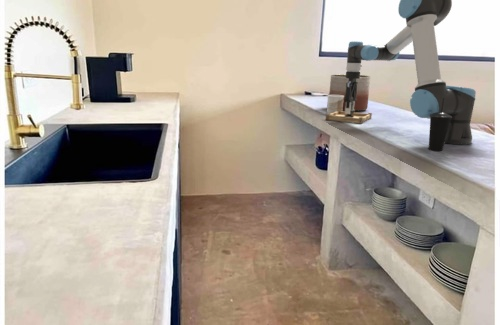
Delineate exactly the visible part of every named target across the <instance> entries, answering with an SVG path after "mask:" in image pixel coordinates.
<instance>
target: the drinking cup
mask: <svg viewBox="0 0 500 325" xmlns="http://www.w3.org/2000/svg"><path fill="white" fill-rule="evenodd" d="M444 100H445V99H444V98H443V100H442V106H441V112H436V113H433V114H430V119H429V133H428V134H429V136H428V137H429V138H428V150H429V151H433V152H442V151H443V149H444V145H445V143H444V142H445V139H446V135H447V131H448V128H449V124H450V120H451V118H452V116H451V115H449V114H448V113H445V112H443V106H444Z"/></svg>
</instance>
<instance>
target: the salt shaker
mask: <svg viewBox="0 0 500 325" xmlns="http://www.w3.org/2000/svg"><path fill="white" fill-rule="evenodd" d="M353 104H354V103H353V97H351V110H350V114H347V115H345V117H354V116H353V115H352V114H353V113H355V112H354V111H355V110H354V109H353Z"/></svg>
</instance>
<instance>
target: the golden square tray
mask: <svg viewBox="0 0 500 325" xmlns="http://www.w3.org/2000/svg"><path fill="white" fill-rule="evenodd" d="M345 115H347V114H345V111H341V110H337V111H336V112H334V113H331V114H328V113H326V114H325V120H326V121H330V122H331V121H332V122H343V123H350V124H360V125H361V124H365V122H367V121H369V120H371V119H372V115H373V113H372V112H368V113H364V112H362V113H361V112H354V113H353V114H352V115H353V116H354V117H345Z"/></svg>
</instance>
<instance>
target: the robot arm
mask: <svg viewBox="0 0 500 325" xmlns="http://www.w3.org/2000/svg"><path fill="white" fill-rule="evenodd" d="M452 4H453V1H452V0H400V1H399V4H398V15H399V16H400V17H401V18H402V19H405V21H406V26H405V27H404V28H403V29H402V30H401V31H399V32H398V33H397V34H395V35H394V36H393V37H392V39H390V40H389V41H388V42H387V43H385V44H383V45H374V44H367V45H366V44H365V45H364V42H363V41H349V43H348V48H347V58H346V68H345V70H346V72H345V75H346V78H349V81H348V83H346V94H345V101H344V102H346V108H345V111H344V112H345V114H350V110H351V97H353V103H354V104H355V101H356V95H357V84H358V82H356V79H359V78H360V75H361V68H362V67H363V66H362V65H363V64H362V61H369V62H371V61H387V62H390V61H396V60H397V59H398V57H399V56H400V52H401V51H403V50H404V49H405V48H407V46H409V45H410V44H411V43H412V46H413V53H414V54H413V55H414V62H415V63H414V64H415V70H416V76H417V78H416V80H417V85H416V86H415V87H414V92H412V93H411V96H410V100H409V106H410V108H411V111H412V113H413V114H414V115H415V116H416V117H418V118H421V119H428V120H430V114H433V113H436V112H441V106H442V100H443V98H444V99H445V100H444V106H443V112H445V113H448V114H449V115H451V116H452V118H451V120H450V124H449V128H448V131H447V135H446V139H445V142H444V144H449V145H450V144H452V145H469V144H470V145H471V144H472V141H473V134H472V133H473V132H472V128H471V121H472V117H473V112H474V107H475V106H474V105H475V103H476V102H475V101H476V94H477V92H476V89H474V88H471V87H463V86H456V85H447V82H446V81H444V80H443V79H442V77H441V68H440V64H439V63H440V62H439V54H438V53H439V52H438V47H437V38H436V37H437V36H436V32H435V26H438V25H439V24H440V23H441V22H443V21H444V20H445V19H446V17H447V16H448V15H449V13H450V12H451V10H452ZM354 104H353V109H354Z"/></svg>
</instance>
